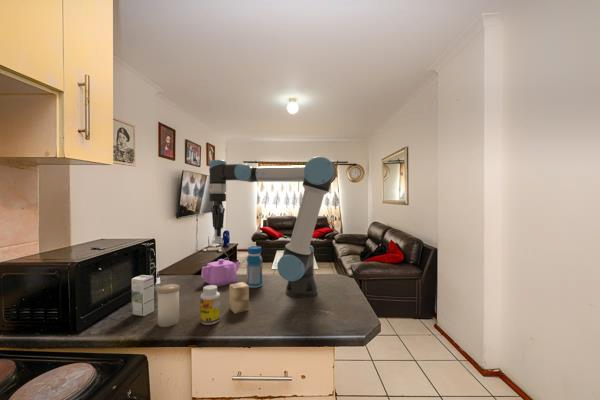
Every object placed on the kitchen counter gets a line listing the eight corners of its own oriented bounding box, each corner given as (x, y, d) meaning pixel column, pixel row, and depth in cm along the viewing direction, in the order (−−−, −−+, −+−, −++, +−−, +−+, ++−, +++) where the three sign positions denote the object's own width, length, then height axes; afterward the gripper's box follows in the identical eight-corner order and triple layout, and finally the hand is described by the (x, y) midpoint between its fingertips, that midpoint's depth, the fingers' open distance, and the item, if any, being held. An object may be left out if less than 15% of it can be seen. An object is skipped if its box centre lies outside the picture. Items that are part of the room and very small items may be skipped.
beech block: (243, 305, 118) (243, 281, 118) (248, 310, 113) (248, 285, 113) (229, 308, 114) (229, 284, 114) (234, 313, 109) (234, 288, 109)
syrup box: (154, 310, 111) (154, 275, 111) (142, 317, 106) (142, 279, 106) (143, 309, 113) (143, 274, 113) (131, 315, 107) (130, 278, 107)
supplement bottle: (196, 322, 101) (196, 287, 101) (211, 315, 107) (211, 282, 107) (208, 327, 98) (208, 291, 97) (223, 320, 103) (223, 286, 103)
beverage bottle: (251, 289, 138) (251, 249, 137) (243, 285, 144) (243, 247, 144) (265, 285, 143) (265, 247, 143) (256, 281, 150) (257, 245, 149)
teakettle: (199, 286, 141) (199, 262, 141) (211, 277, 158) (211, 255, 158) (232, 287, 140) (232, 263, 140) (241, 277, 157) (241, 256, 157)
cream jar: (183, 319, 104) (183, 284, 104) (170, 328, 97) (170, 291, 97) (166, 317, 106) (166, 283, 106) (152, 325, 99) (152, 289, 99)
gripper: (205, 193, 133) (205, 241, 134) (214, 192, 123) (214, 245, 123) (221, 193, 138) (221, 240, 138) (230, 193, 127) (230, 244, 127)
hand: (217, 242), depth 130 cm, fingers closed
